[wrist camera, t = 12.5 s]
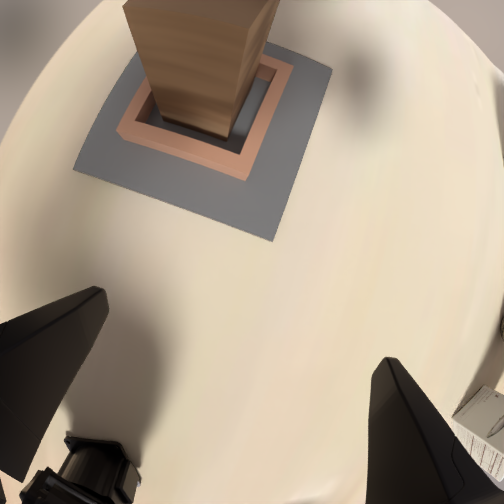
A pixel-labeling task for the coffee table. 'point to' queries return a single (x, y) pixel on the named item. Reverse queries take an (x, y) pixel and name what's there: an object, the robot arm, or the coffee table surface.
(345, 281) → the coffee table surface
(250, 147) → the holder
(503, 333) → the decorative egg
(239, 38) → the block
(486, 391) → the supplement box
